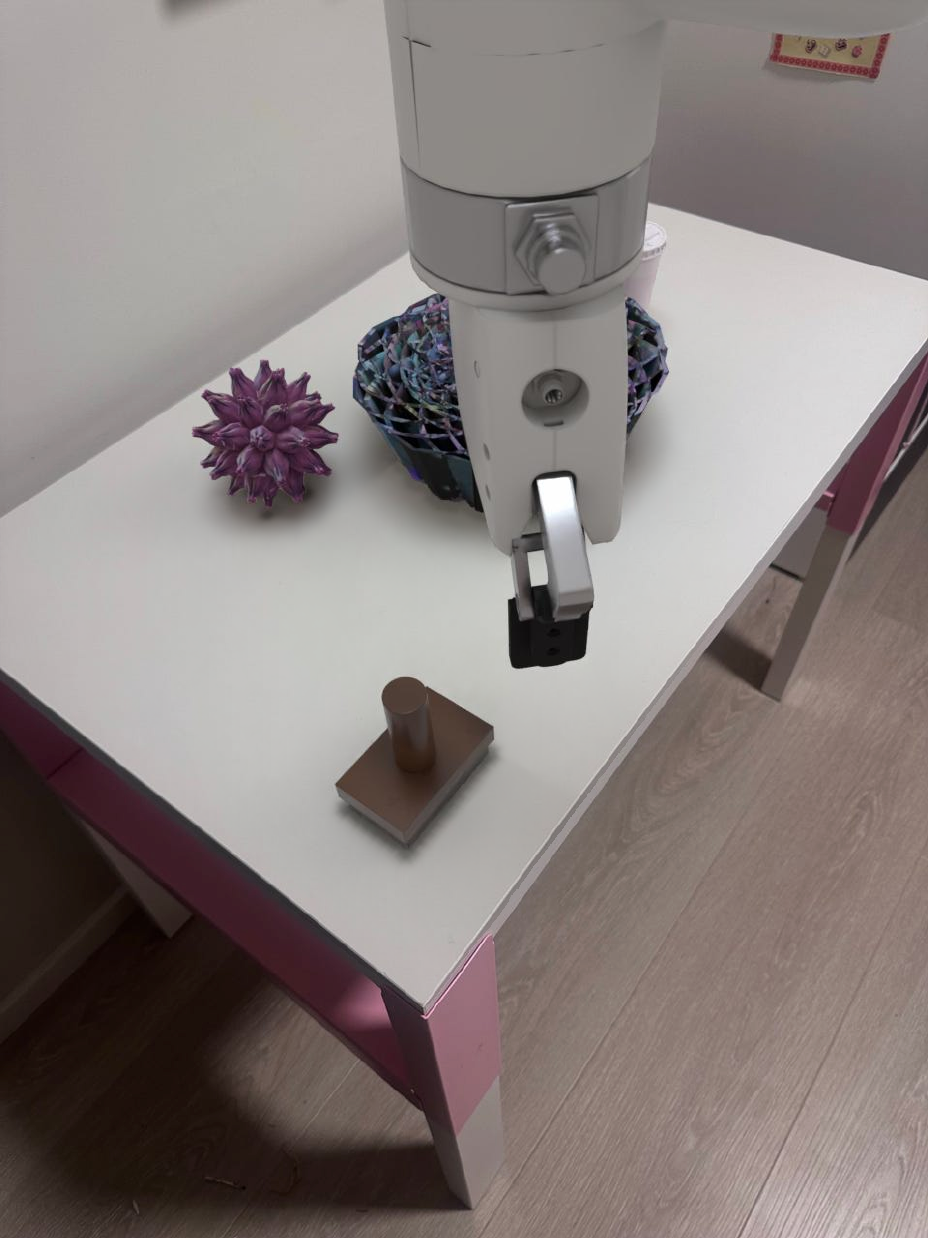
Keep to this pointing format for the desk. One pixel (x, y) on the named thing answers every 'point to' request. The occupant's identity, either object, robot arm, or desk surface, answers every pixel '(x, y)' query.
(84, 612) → the desk surface
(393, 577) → the desk surface
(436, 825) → the desk surface
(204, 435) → the flower
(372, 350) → the decorative bowl
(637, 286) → the smoothie
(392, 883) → the desk surface
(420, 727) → the stamp
